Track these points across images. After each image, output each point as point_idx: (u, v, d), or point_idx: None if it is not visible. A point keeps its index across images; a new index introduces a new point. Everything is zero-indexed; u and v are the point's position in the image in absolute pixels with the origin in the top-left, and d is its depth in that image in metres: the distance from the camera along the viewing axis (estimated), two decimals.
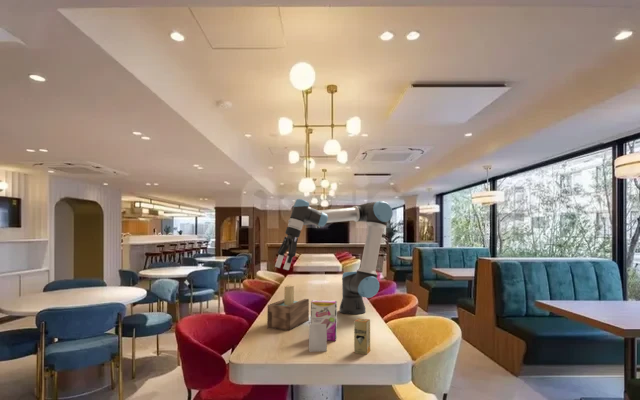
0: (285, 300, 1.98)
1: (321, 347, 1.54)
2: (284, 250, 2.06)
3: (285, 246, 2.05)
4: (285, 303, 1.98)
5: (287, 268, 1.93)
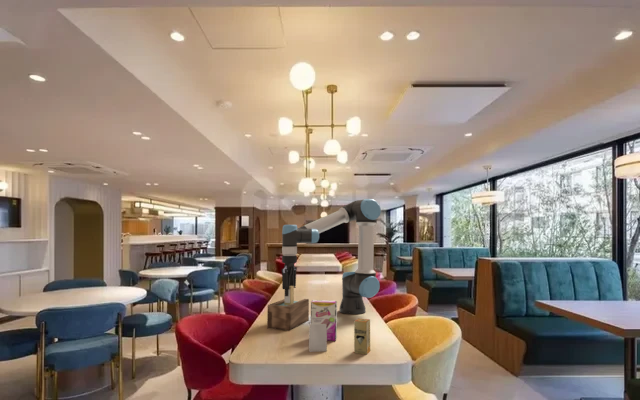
0: None
1: (321, 347, 1.54)
2: (291, 280, 2.01)
3: (289, 275, 2.02)
4: (285, 303, 1.98)
5: (287, 301, 1.97)
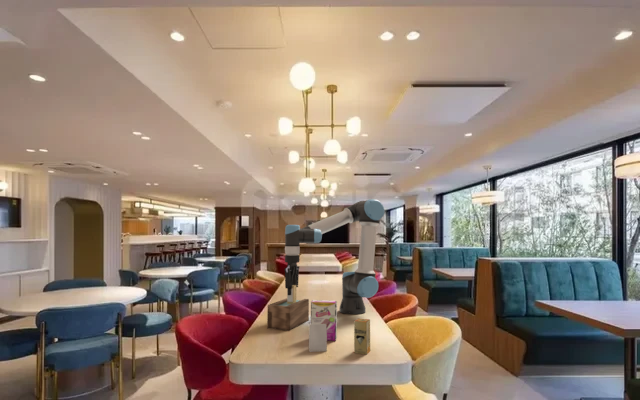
0: None
1: (321, 347, 1.54)
2: (294, 280, 2.04)
3: (292, 275, 2.04)
4: (288, 302, 2.01)
5: (290, 300, 2.00)
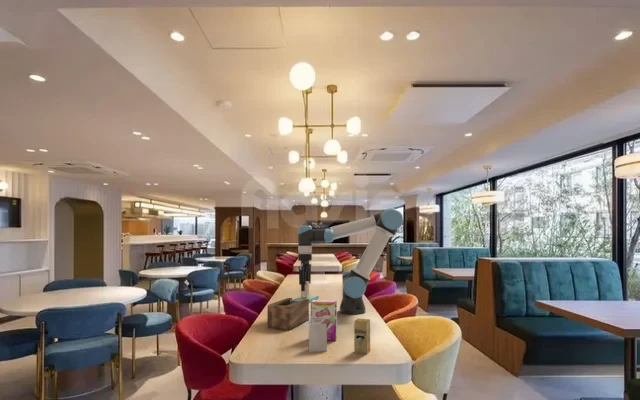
0: None
1: (321, 347, 1.54)
2: (306, 276, 2.20)
3: None
4: (301, 297, 2.16)
5: (304, 295, 2.15)
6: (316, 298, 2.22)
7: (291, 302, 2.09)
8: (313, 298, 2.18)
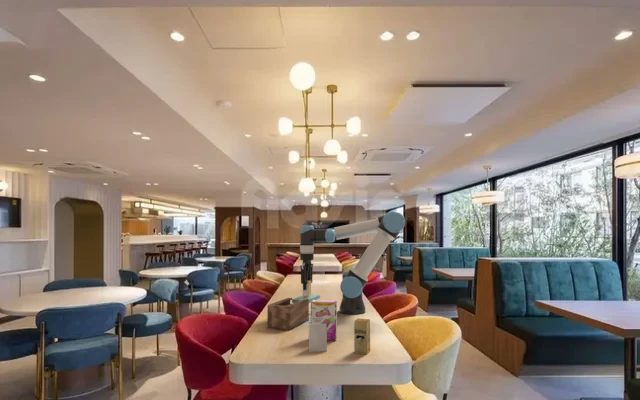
0: None
1: (321, 347, 1.54)
2: (308, 276, 2.23)
3: None
4: (303, 296, 2.19)
5: (305, 294, 2.18)
6: (318, 297, 2.25)
7: (293, 301, 2.12)
8: (315, 297, 2.21)
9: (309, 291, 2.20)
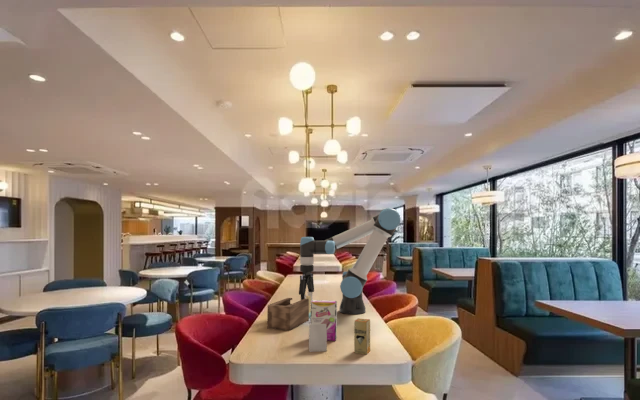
0: None
1: (321, 347, 1.54)
2: (309, 286, 2.24)
3: (307, 282, 2.24)
4: None
5: None
6: None
7: None
8: None
9: (309, 307, 2.19)
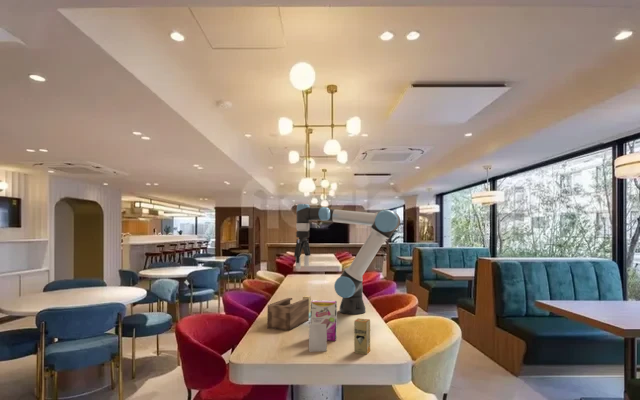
0: None
1: (321, 347, 1.54)
2: (306, 251, 2.33)
3: (304, 247, 2.32)
4: None
5: (298, 267, 2.20)
6: None
7: None
8: None
9: (309, 307, 2.19)
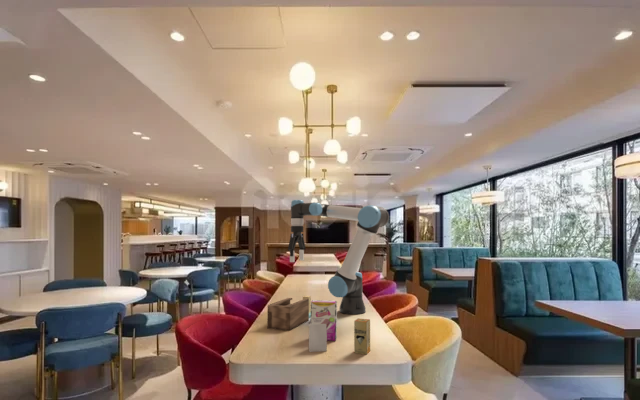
0: None
1: (321, 347, 1.54)
2: (301, 245, 2.41)
3: (298, 242, 2.40)
4: None
5: (292, 260, 2.29)
6: None
7: None
8: None
9: (309, 307, 2.19)
